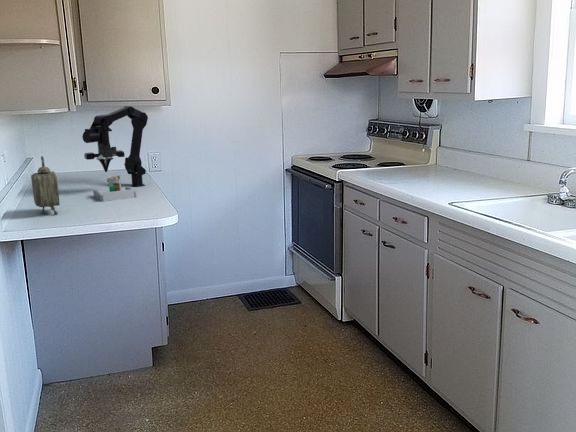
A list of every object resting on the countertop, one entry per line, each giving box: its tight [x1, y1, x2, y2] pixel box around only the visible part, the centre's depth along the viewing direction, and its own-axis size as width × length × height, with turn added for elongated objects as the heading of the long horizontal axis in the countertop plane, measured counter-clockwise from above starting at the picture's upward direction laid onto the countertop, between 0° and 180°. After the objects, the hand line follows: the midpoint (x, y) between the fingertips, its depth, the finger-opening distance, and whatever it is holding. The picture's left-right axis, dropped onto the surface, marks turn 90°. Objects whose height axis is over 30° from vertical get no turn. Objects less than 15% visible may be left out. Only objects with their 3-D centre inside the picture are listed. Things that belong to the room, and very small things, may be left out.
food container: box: [106, 174, 122, 192], centre depth 281 cm, size 12×6×10 cm, turn 14°
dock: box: [92, 185, 137, 202], centre depth 283 cm, size 15×17×4 cm
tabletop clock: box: [30, 155, 61, 216], centre depth 248 cm, size 14×9×25 cm, turn 28°
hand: (106, 171), depth 292 cm, fingers closed
